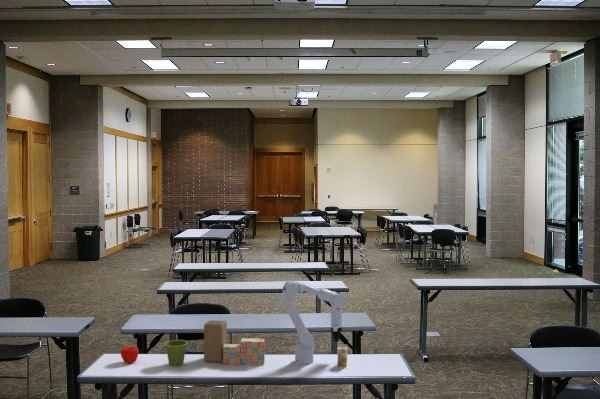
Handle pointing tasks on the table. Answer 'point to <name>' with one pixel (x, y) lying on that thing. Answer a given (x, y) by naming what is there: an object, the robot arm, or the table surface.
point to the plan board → (342, 367)
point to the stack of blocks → (245, 352)
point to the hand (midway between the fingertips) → (336, 341)
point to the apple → (129, 354)
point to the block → (214, 340)
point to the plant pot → (176, 351)
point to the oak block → (342, 362)
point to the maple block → (342, 352)
